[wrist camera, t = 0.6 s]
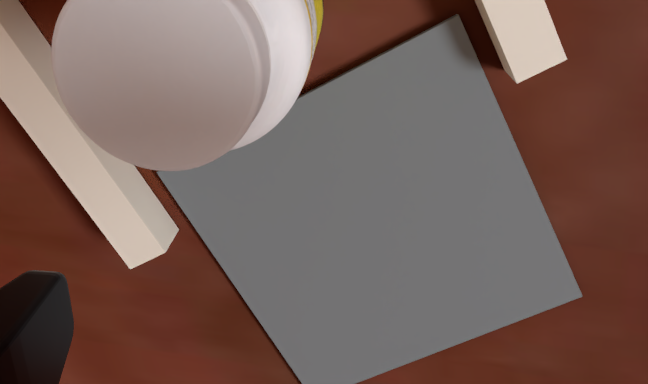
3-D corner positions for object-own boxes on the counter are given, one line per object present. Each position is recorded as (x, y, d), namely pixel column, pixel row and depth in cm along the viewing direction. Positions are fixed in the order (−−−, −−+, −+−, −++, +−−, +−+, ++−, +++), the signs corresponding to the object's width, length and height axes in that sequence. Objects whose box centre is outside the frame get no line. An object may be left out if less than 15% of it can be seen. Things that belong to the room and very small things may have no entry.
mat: (580, 292, 24) (582, 296, 24) (313, 394, 27) (312, 399, 26) (457, 13, 20) (458, 15, 20) (159, 169, 23) (156, 172, 22)
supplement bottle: (165, 77, 21) (25, 191, 12) (161, -93, 19) (-14, -104, 10) (319, 91, 21) (289, 216, 12) (332, -78, 19) (308, -76, 10)
